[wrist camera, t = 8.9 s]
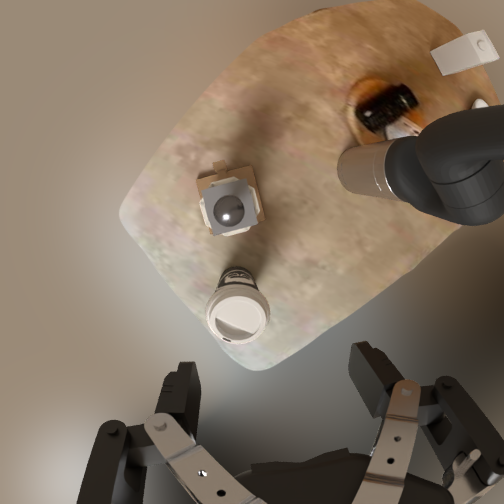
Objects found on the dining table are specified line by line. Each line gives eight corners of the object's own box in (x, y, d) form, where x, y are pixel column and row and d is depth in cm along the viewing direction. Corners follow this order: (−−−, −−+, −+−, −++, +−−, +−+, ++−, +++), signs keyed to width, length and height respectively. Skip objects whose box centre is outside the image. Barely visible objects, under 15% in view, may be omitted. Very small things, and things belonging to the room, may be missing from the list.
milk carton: (443, 49, 40) (489, 29, 22) (456, 73, 42) (504, 58, 23) (429, 51, 40) (477, 28, 22) (442, 76, 42) (494, 59, 24)
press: (249, 158, 46) (256, 149, 32) (264, 219, 49) (277, 235, 35) (194, 173, 46) (178, 170, 32) (211, 233, 49) (202, 254, 35)
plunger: (241, 183, 42) (245, 184, 29) (249, 212, 43) (255, 226, 30) (211, 191, 42) (201, 196, 29) (219, 220, 43) (213, 238, 30)
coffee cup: (201, 279, 51) (190, 317, 37) (240, 248, 50) (242, 276, 36) (233, 313, 54) (234, 358, 39) (271, 285, 53) (285, 323, 38)
